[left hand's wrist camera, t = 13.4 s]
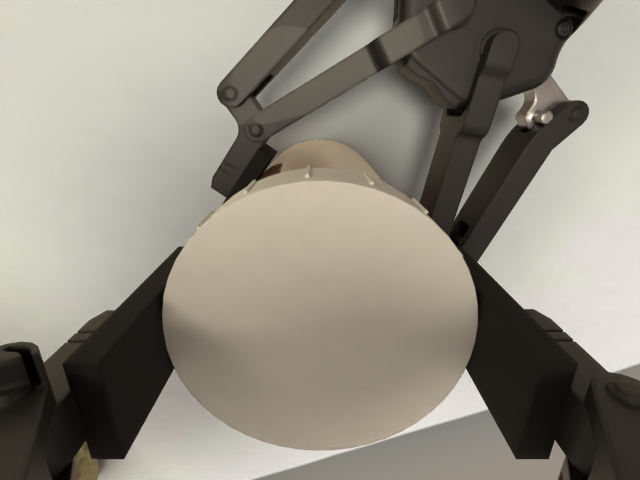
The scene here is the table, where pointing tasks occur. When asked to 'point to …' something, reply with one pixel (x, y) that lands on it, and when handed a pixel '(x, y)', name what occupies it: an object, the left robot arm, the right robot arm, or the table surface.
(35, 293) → the table surface
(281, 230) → the lid
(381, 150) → the table surface
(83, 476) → the sculpture
